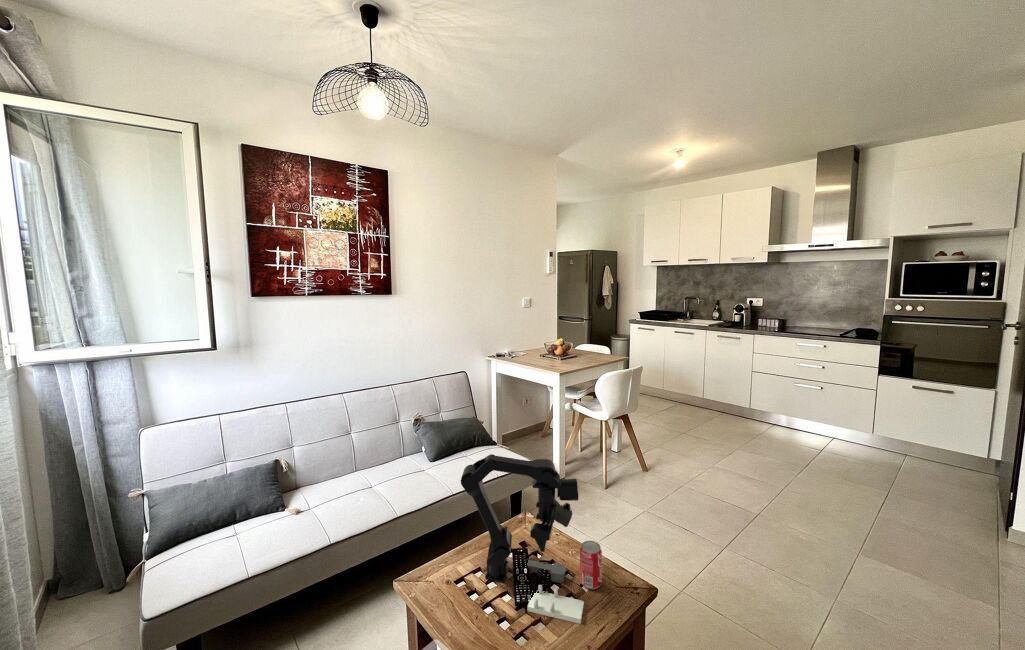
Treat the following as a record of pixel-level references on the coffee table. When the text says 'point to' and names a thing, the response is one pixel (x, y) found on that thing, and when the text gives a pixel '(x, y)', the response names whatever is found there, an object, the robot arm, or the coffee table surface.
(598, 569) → the soda can
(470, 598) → the coffee table surface
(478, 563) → the coffee table surface
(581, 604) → the rack
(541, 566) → the grey t-shaped plate
